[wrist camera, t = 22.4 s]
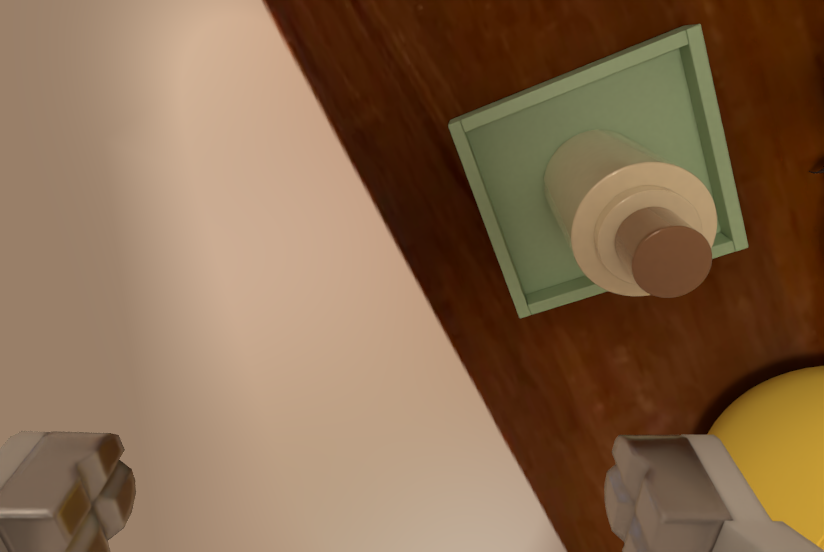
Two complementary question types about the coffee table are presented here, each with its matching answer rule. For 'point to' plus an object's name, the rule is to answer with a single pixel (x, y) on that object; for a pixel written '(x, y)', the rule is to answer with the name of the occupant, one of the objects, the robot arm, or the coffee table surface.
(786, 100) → the coffee table surface
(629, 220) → the bottle
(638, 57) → the tray
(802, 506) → the teapot
